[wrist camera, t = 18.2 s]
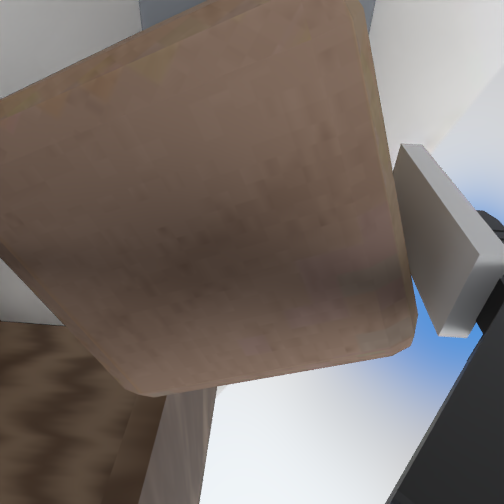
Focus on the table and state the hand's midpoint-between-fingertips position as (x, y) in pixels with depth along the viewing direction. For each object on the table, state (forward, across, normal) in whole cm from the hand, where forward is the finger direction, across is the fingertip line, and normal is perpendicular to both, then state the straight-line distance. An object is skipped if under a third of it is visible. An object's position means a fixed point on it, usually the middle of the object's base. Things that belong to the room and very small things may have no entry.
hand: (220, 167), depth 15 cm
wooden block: (+14, 0, 0) cm, 14 cm away
